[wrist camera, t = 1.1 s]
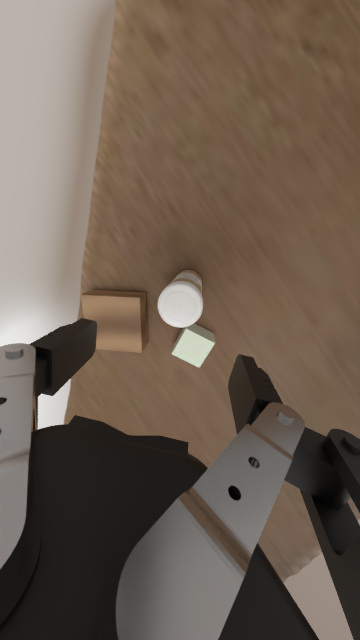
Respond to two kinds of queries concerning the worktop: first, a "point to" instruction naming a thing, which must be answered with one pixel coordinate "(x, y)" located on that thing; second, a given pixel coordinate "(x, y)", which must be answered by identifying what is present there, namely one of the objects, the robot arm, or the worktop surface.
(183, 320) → the sprinkles bottle
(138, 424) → the worktop surface
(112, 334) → the walnut block
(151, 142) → the worktop surface
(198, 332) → the sage block
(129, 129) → the worktop surface
